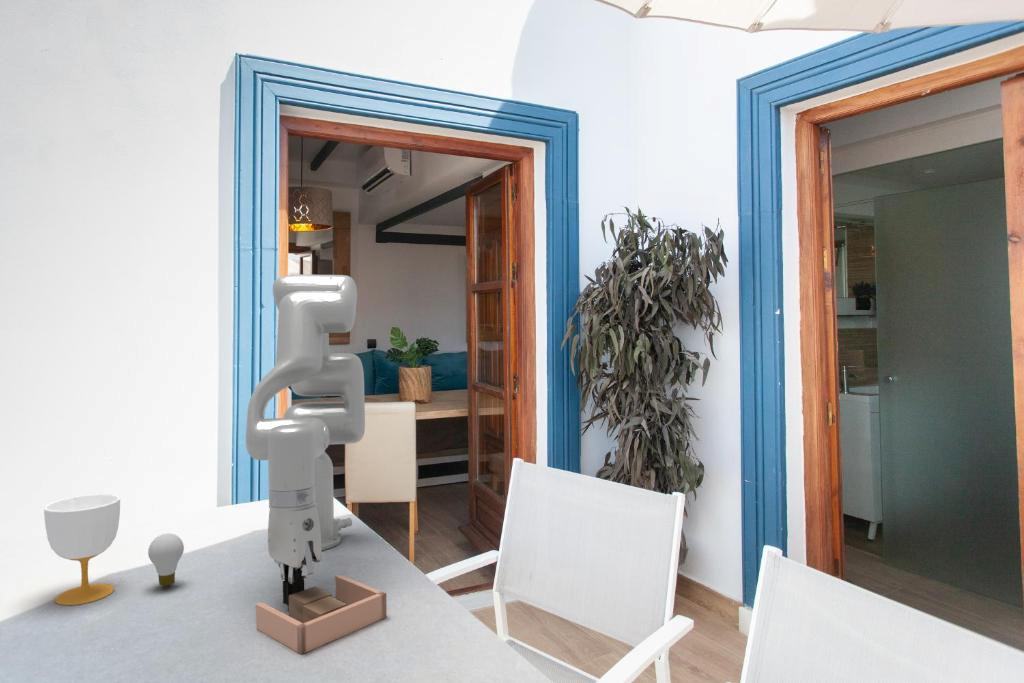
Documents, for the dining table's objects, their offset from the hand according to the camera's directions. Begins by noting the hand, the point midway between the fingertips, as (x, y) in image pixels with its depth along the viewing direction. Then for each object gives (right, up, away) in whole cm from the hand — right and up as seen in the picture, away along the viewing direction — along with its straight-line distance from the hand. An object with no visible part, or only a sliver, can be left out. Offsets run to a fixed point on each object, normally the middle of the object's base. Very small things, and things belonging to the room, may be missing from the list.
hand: (293, 602), depth 113 cm
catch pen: (+7, -1, -5) cm, 9 cm away
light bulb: (-27, -1, +10) cm, 29 cm away
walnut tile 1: (+4, -1, -3) cm, 5 cm away
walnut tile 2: (+7, -1, -6) cm, 10 cm away
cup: (-40, -1, +6) cm, 41 cm away
